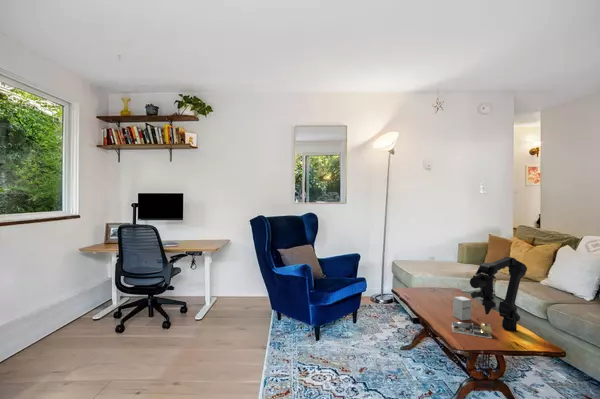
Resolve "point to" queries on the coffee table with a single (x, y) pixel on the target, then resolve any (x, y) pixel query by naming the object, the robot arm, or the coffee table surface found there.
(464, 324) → the pipe run
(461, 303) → the supplement box
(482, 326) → the valve
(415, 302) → the coffee table surface
